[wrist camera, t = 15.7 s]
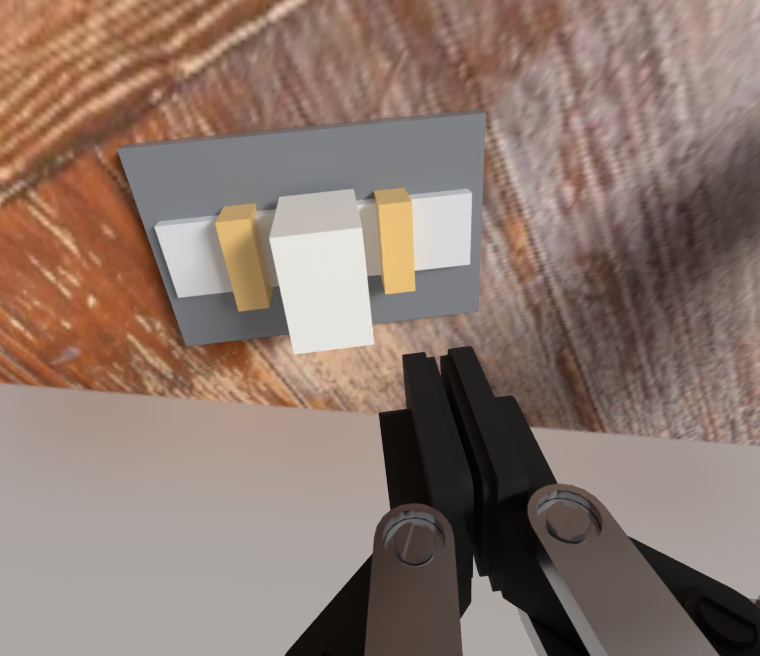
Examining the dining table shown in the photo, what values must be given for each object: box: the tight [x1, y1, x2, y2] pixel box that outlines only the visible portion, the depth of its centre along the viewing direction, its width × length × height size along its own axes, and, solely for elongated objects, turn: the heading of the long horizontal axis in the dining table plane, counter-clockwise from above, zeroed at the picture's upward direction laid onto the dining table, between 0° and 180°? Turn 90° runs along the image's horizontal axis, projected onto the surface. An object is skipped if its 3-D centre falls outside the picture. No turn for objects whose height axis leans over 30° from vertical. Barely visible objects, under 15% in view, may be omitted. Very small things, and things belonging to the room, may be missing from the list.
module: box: [269, 189, 374, 354], centre depth 28 cm, size 5×7×7 cm, turn 4°
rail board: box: [117, 110, 486, 346], centre depth 32 cm, size 22×14×4 cm, turn 94°
